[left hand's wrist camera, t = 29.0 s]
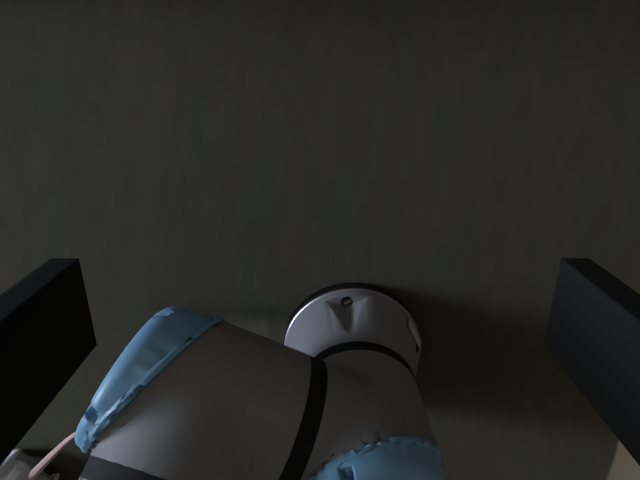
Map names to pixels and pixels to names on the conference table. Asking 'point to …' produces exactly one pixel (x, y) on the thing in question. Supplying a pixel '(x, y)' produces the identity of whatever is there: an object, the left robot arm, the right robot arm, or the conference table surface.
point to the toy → (30, 465)
